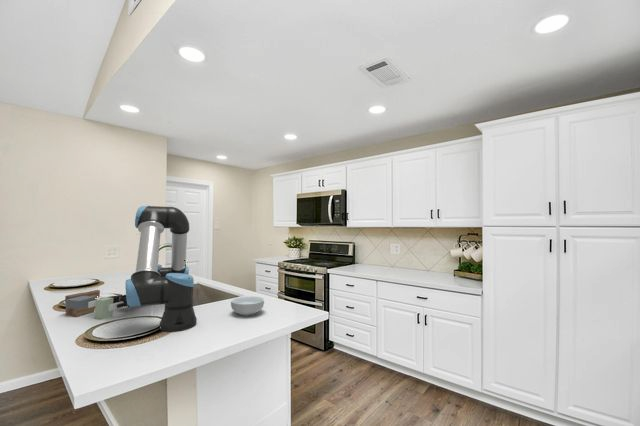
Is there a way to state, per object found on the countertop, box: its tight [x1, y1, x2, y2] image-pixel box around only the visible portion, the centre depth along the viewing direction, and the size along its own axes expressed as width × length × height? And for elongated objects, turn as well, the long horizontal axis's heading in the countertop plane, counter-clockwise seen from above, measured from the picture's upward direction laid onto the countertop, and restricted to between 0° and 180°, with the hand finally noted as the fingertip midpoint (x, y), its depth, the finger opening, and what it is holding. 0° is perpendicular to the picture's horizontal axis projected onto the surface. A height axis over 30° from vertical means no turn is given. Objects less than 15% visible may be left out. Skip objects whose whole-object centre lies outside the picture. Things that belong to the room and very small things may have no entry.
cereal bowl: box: [230, 295, 265, 317], centre depth 149 cm, size 17×17×7 cm
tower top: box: [65, 296, 95, 309], centre depth 144 cm, size 8×8×4 cm
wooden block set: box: [64, 289, 101, 303], centre depth 167 cm, size 17×6×18 cm
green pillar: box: [94, 296, 114, 321], centre depth 140 cm, size 5×5×9 cm
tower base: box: [65, 307, 95, 318], centre depth 144 cm, size 8×8×4 cm
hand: (98, 306), depth 137 cm, fingers open, 13 cm apart
